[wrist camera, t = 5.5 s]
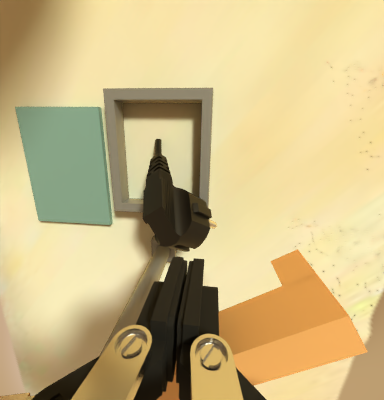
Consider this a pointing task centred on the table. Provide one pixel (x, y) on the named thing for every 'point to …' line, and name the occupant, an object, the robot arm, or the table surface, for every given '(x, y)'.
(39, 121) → the mat
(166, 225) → the power plug
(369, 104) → the table surface
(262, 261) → the table surface
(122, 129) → the plug dock
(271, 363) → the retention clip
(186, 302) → the robot arm
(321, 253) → the table surface
